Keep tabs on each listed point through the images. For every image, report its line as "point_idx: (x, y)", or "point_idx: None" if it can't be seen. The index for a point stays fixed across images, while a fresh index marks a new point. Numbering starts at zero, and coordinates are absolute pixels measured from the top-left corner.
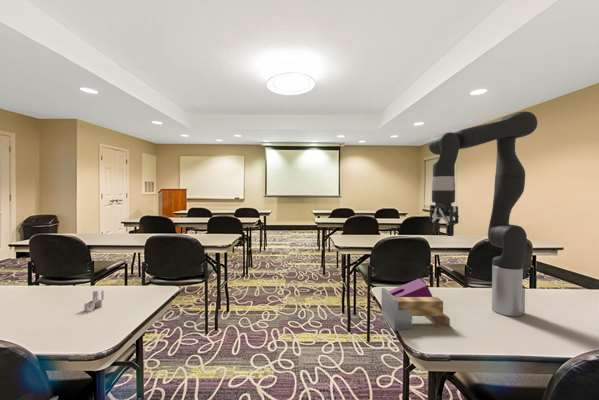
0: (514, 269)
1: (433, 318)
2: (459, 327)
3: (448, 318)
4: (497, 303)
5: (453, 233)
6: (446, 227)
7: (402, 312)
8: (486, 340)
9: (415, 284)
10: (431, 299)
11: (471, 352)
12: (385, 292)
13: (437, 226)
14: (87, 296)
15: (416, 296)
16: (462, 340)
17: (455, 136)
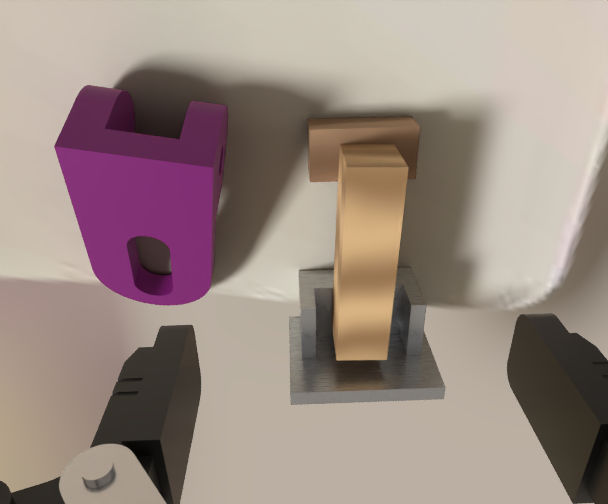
0: None
1: None
2: (419, 73)
3: (419, 132)
4: None
5: (592, 345)
6: (557, 468)
7: (422, 333)
8: (540, 26)
9: (135, 191)
10: (378, 212)
11: (593, 145)
12: (339, 400)
13: (177, 420)
14: None
15: (216, 197)
16: (517, 127)
17: None
